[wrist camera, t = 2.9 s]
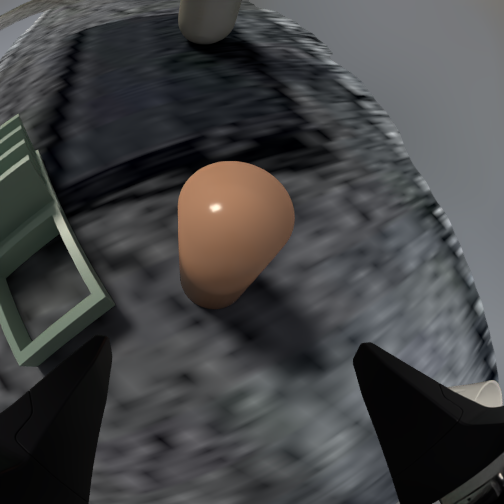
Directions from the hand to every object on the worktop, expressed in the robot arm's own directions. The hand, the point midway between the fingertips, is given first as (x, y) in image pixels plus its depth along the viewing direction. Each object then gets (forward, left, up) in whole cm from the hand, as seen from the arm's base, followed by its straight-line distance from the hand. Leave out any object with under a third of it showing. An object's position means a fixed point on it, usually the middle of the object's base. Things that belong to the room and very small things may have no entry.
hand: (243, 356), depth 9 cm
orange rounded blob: (+4, +5, -13) cm, 14 cm away
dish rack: (-8, +18, -13) cm, 23 cm away
